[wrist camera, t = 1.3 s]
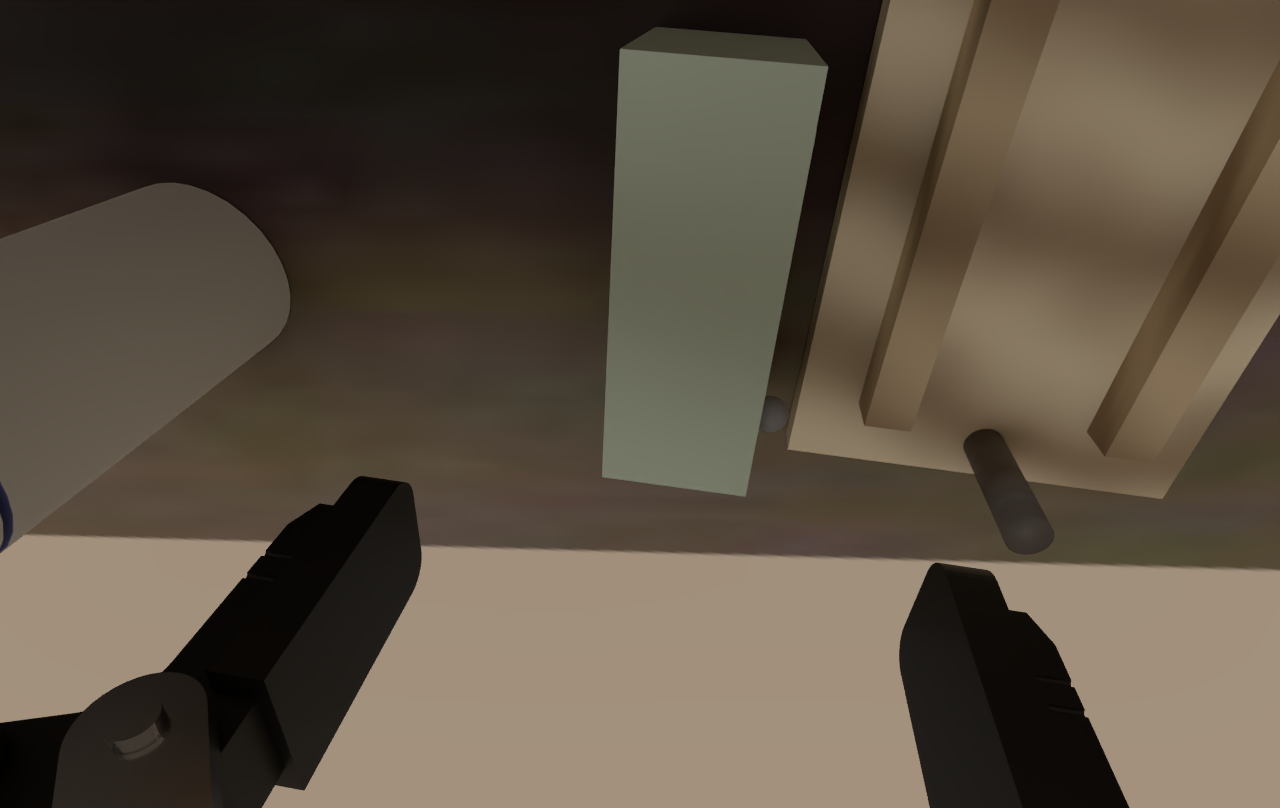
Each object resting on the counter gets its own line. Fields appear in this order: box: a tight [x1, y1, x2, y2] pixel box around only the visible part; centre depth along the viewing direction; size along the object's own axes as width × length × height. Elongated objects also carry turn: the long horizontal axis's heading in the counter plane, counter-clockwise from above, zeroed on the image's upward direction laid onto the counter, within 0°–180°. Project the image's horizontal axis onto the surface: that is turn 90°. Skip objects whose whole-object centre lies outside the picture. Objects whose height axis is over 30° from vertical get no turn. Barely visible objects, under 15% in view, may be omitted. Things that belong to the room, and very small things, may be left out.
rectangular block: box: [602, 27, 828, 497], centre depth 21 cm, size 12×6×7 cm, turn 176°
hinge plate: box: [786, 0, 1280, 554], centre depth 19 cm, size 20×14×6 cm
